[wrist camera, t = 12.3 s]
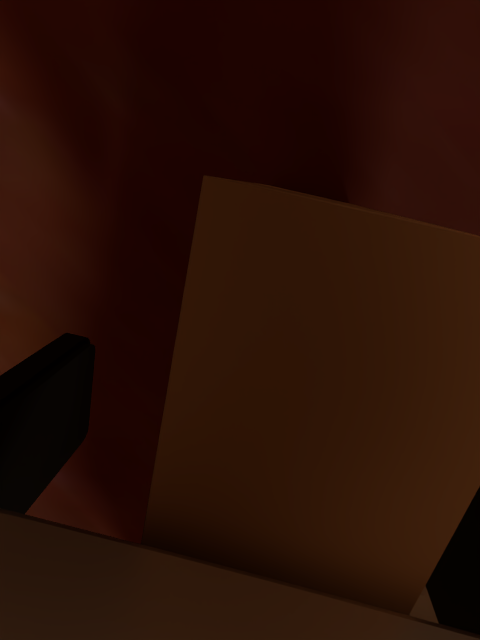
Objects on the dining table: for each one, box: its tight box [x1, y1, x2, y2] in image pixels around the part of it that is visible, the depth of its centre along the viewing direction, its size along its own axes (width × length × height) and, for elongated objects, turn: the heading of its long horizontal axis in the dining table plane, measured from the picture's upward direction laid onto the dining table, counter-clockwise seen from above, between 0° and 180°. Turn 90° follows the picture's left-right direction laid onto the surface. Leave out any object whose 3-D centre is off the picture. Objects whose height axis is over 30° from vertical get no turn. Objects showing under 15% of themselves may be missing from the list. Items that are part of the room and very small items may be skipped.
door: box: [141, 175, 480, 615], centre depth 11 cm, size 4×15×12 cm, turn 168°
